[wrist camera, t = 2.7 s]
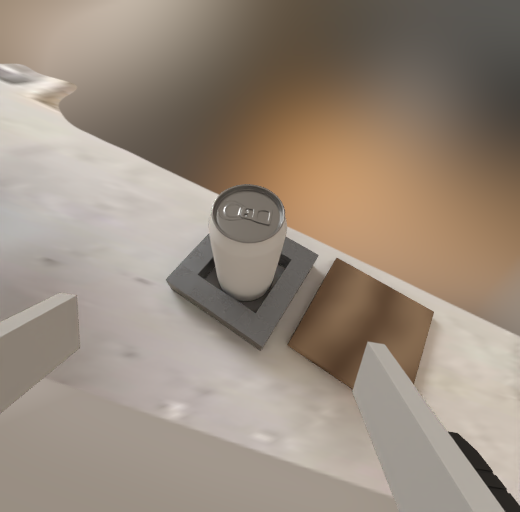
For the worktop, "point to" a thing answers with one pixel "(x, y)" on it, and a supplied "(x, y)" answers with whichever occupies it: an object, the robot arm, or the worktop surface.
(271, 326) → the steel collar
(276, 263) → the can
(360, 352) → the walnut pad
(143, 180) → the worktop surface
